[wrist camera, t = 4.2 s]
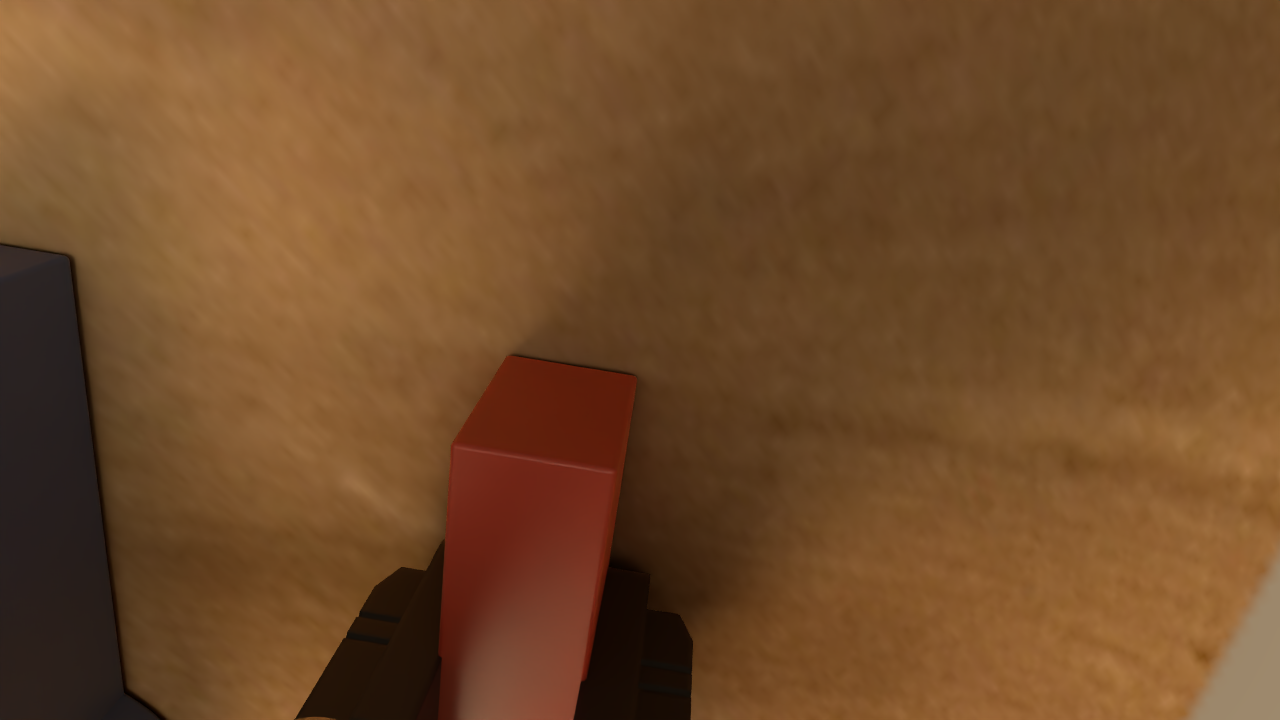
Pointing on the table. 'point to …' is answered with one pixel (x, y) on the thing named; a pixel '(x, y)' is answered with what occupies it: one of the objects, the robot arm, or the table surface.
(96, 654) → the blue spoon
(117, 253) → the table surface
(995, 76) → the table surface
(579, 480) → the red spoon
